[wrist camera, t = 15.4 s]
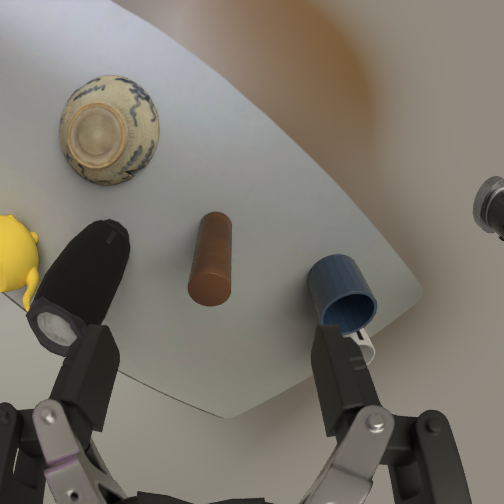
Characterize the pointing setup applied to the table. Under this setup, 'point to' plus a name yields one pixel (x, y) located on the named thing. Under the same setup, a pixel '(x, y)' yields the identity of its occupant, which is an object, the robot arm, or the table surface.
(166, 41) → the table surface
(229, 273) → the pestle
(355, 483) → the robot arm
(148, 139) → the decorative bowl
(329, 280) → the crock
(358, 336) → the cup
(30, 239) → the teapot
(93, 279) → the portable speaker
